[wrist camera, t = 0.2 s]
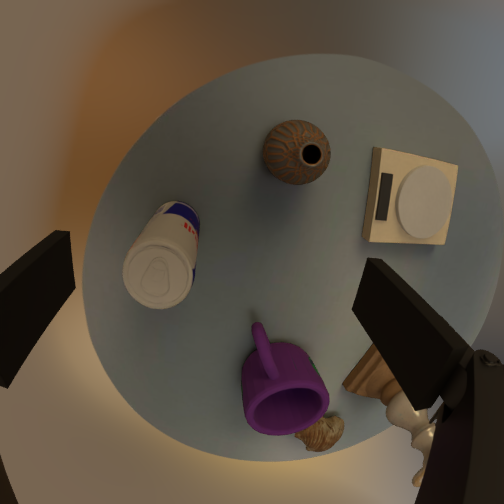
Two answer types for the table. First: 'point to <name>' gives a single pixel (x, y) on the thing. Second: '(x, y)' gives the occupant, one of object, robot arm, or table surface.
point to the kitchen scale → (408, 198)
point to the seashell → (322, 434)
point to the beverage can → (163, 257)
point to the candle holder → (392, 402)
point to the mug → (281, 387)
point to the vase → (296, 152)
